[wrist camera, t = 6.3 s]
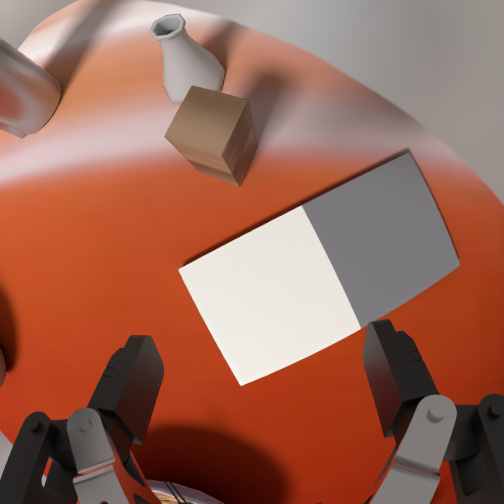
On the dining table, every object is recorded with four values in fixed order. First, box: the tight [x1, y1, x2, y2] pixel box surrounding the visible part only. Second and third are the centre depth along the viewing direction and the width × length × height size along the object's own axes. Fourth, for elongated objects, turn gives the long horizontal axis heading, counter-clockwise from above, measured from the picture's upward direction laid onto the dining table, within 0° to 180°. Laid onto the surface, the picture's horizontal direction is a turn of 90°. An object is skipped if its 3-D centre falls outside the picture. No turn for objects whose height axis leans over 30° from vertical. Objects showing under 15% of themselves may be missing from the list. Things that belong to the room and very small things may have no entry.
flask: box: [150, 14, 225, 103], centre depth 24 cm, size 7×7×10 cm
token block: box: [164, 85, 257, 187], centre depth 23 cm, size 4×4×10 cm
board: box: [178, 153, 460, 386], centre depth 27 cm, size 26×13×1 cm, turn 117°
